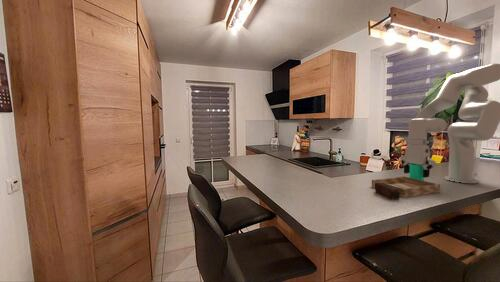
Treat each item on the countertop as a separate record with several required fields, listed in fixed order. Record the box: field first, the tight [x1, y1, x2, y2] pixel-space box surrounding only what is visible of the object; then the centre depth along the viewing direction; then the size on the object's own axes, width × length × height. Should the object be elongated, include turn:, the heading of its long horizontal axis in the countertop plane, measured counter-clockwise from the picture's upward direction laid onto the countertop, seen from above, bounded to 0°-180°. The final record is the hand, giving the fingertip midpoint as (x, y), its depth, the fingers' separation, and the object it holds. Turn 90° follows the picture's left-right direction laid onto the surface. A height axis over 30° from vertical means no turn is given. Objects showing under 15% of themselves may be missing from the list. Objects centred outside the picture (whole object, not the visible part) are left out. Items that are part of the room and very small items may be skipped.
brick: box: [374, 183, 401, 200], centre depth 92 cm, size 11×4×5 cm, turn 4°
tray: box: [371, 175, 441, 198], centre depth 101 cm, size 21×17×3 cm
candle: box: [408, 164, 425, 181], centre depth 109 cm, size 6×6×12 cm
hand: (415, 175), depth 109 cm, fingers open, 9 cm apart
